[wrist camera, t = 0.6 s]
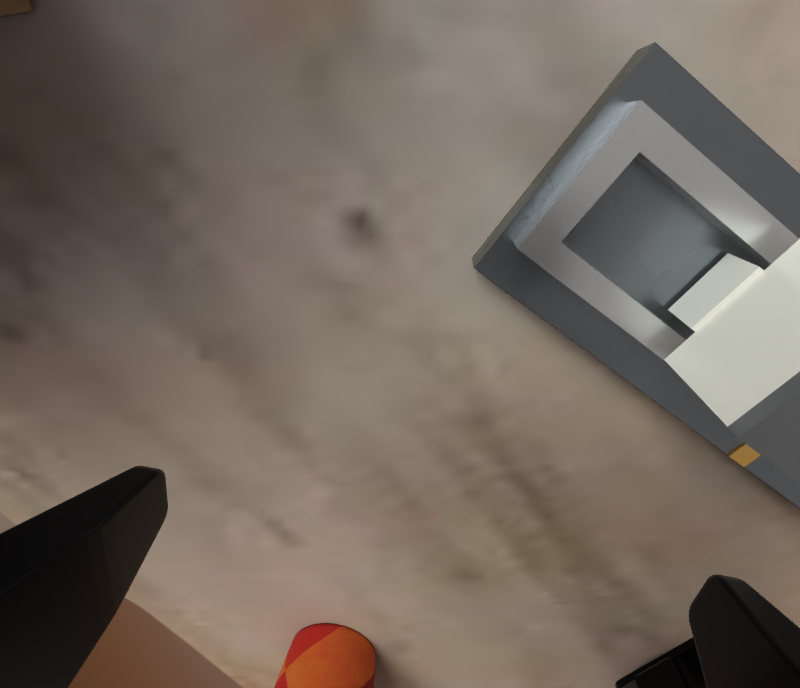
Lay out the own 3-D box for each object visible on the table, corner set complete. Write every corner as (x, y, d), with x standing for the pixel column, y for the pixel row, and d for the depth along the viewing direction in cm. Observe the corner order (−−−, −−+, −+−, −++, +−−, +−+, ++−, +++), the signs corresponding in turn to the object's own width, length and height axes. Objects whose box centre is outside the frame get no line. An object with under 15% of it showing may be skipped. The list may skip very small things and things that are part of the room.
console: (1001, 379, 18) (1086, 417, 16) (805, 504, 22) (850, 551, 19) (637, 50, 15) (672, 34, 13) (472, 258, 19) (475, 277, 16)
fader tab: (817, 270, 16) (1022, 348, 10) (693, 375, 18) (806, 489, 12) (760, 222, 15) (944, 274, 10) (640, 335, 17) (732, 434, 12)
